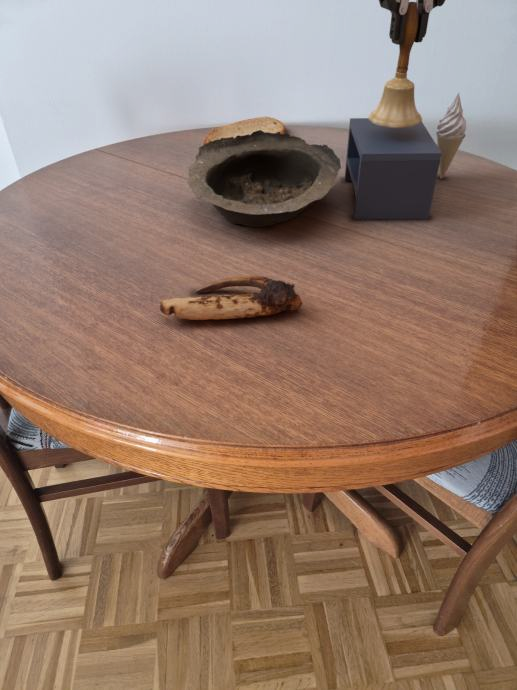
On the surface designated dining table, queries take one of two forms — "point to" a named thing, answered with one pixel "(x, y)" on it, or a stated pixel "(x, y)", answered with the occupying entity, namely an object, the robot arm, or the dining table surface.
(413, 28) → the hand bell
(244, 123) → the bread slice
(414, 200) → the shelf
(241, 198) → the stone bowl
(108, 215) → the dining table surface
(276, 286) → the lashed bone hook
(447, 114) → the ice cream cone
